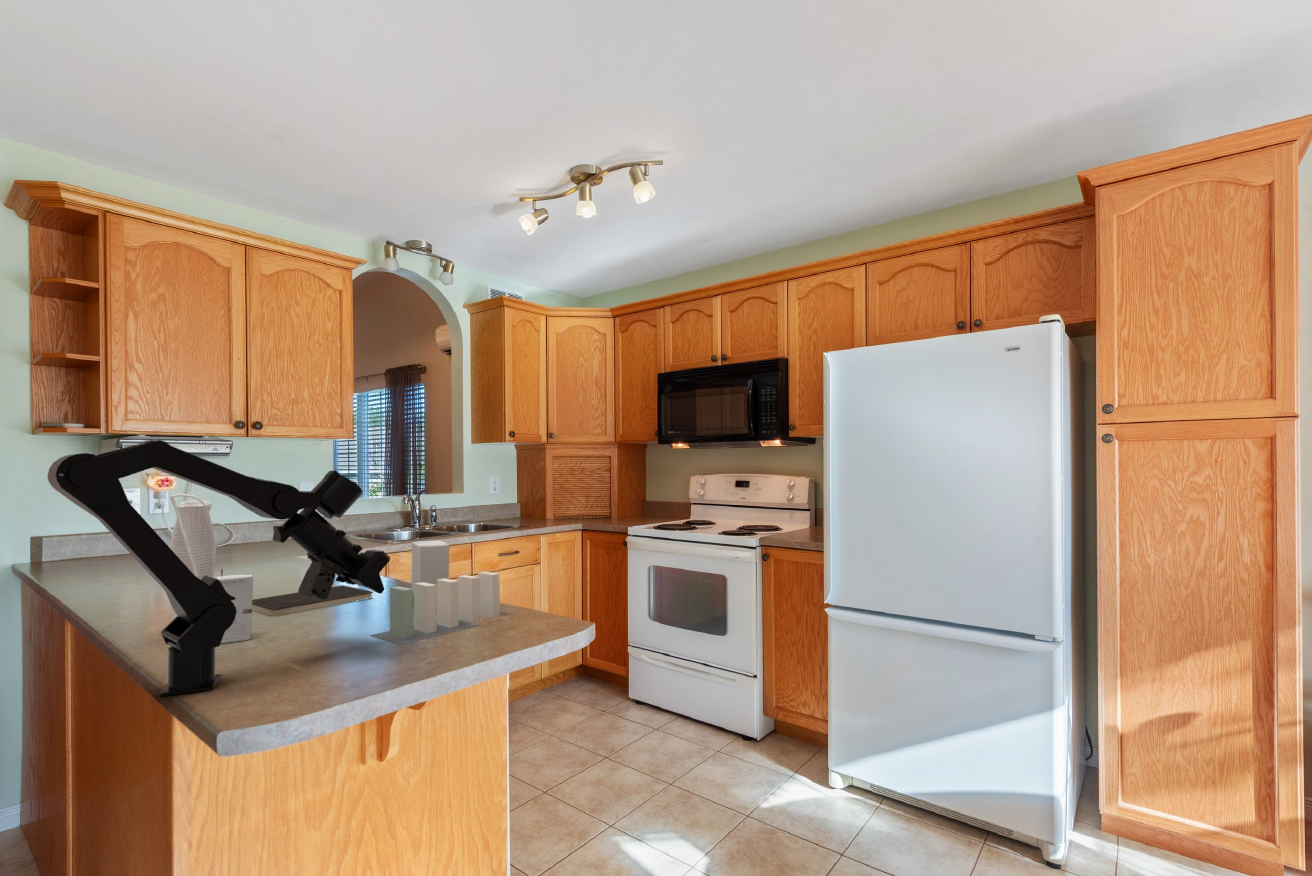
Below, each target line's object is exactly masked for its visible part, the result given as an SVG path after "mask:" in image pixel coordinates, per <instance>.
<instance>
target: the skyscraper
mask: <svg viewBox="0 0 1312 876" xmlns="http://www.w3.org/2000/svg"><path fill="white" fill-rule="evenodd" d="M176 497H187V498H192V499H195V500H185V501H181V502H180V503H179V505H178V506H177V504H176V501H175V499H174V498H176ZM169 499H170V501H171V503H172V507H173V508H174V512H175V516H176V517H175V521H174V523H173V528H172V532H171V533H172V534H171V536H170V542H169V543H170V544H169V548H170V549H171V550H172V551H173V552H174V553H175V554H176V555H177V556H178V558H179V559H180V560H181V561H182V562H183V563H184V564H185V565H186V566H187V568H188V569H189V570H190V571H191V572H192V573H193V574H194V575H195V576H196V577H197V578H199V579H200V580H201V579H202V578H203V577H204V576H208V577H212V578H215V577H214V576H215V569H216V558H217V549H216V547H217V545H216V537H215V532H214V528H213V522H212V519H211V515H210V510H211V508H212V502H210V501H208V500H207V501H206V500H203V499H202V498H200V497H199V496H197V495H193V494H188V493H175V494H172V495H170V496H169ZM220 576H224V568H220ZM176 617H177V614H176V612H175V613H174V616H173V620H174V619H175V618H176Z"/></svg>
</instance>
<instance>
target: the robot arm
mask: <svg viewBox="0 0 1312 876" xmlns="http://www.w3.org/2000/svg"><path fill="white" fill-rule="evenodd" d="M149 469H154V470H157V471H159V472H161V473H165V474H166V475H170V476H173V477H175V478H178V479H180V480H183V481H186V482H189V483H191V484H194V485H197V486H199V487H203V488H205V489H208V490H210V491H213V492H215V493H218V494H221V495H223V496H227V497H228V498H230V499H231V500H233V501H235V502H237V503H238V504H239V505H241V506H242V507H244V508H245V509H246V510H249V511H250V512H252V513H254V514H255V515H257V516H259V517H261V518H266V519H271V520H272V519H273V520H281V521H283V520H285V521H284V523H282V524H281V525H280V524H279V525H273V526H272V529H273V533H272V541H273V542H276V543H281V544H283V543H285V542H286V541H287V540H288V539H289V538H290V539H291V540H293V541H294V542H295V544H298V545H299V546H300V547H301V548H302V549H303V550H305V551H306V552H307V553H306V555H307V556H306V558H307V559H309V561H311V563H310V564H309V567H308V568H307V569H306V571H305V574H304V576H303V578H302V580H301V583H300V585H299V588H298V590H297V591H298V593H299V594H302V595H306V596H309V597H313V598H316V599H320V600H325V599H327V597H328V595H329V592H330V590H331V588H332V587H333V585H334V583H335V582H339V583H345V584H347V585H348V584H349V585H353V586H354V585H357V586H361V587H364V588H366V589H369V591H372V592H375V593H377V594H379V595H380V594H382V593H383V592H384V591H385V586H384V583H383V581H382V577H381V574H380V573H381V572H382V570H383V569H384V568H385V567H386V566H387V564H388V563H389V562H390V560H391V557H390V556H389V555H388V554H387V553H386V552H385V551H383V550H380V549H379V550H377V549H368V550H365V552H361V551H362V550H363V547H362V546H361V545H360V544H356V543H353V542H352V541H351V540H349V539H348V538H347V537H346V535H347V533H346V531H344V530H343V529H337V528H336V527H335V526H333V525H332V524H331V523H330V522H329V521H328V520H331V519H333V518H334V517H335V518H342V517H343V515H345V513H346V512H348V510H349V509H350V508H351V507H352V506H353V505H354V504H355V503H356V501H357V500H358V499H359V498H360V497H362V495H363V494H364V491H363V489H362V488H361V486H360V485H358V484H357V482H355V481H353V480H351V479H349V477H346V476H345V475H342V474H340V473H339V472H338V471H337V470H329V471H328V472H326V474H325V475H324V477H322V479H321V481H319V482H318V484H316V486H314V487H313V489H312V490H309V491H308V490H305V491H304V490H299V489H298V488H296V487H295V486H293V485H291V484H287V483H283V482H278V481H274V480H267V479H263V478H258V477H253V476H248V475H245V474H242V473H240V472H237V471H235V470H233V469H230V468H227V467H225V466H223V465H220V464H217V463H215V462H213V461H210V460H208V459H205V458H203V457H200V456H198V455H194V454H192V453H191V452H188V451H185V450H182V449H180V448H177V447H175V446H172V444H169V443H168V442H167V441H165V440H162V439H149V440H144V441H141V442H139V443H138V444H134V445H130V446H126V447H122V448H119V449H114V450H111V451H107V452H103V453H99V454H95V453H88V452H85V453H75V454H66V455H64V456H62V457H61V456H60V457H59V458H58V459H56V460H55V461H54V462H52V463H51V465H50V467H49V468H48V472H47V481H48V483H49V484H50V486H51V487H52V489H54V490H55V491H56V492H58V493H60V495H62V496H63V497H65V498H67V499H68V500H69V501H70V502H71V503H73V504H75V505H76V506H78V507H80V508H81V509H82V510H84V511H85V512H87V513H89V514H90V515H91V516H93V517H94V518H96V519H97V520H98V521H99V523H101V524H102V525H103V526H104V528H106V529H107V531H108V532H110V534H111V535H112V536H113V537H114V538H115V539H116V540H117V542H119V543H120V544H121V545H122V546H123V547H124V549H125V550H126V551H128V552H129V554H130V555H131V556H132V557H133V558H134V560H136V561H137V563H139V564H140V565H141V567H142V568H143V569H144V570H145V571H146V572H147V573H148V574H149V575H150V577H152V578H153V579H154V581H156V583H157V584H158V585H160V587H161V588H162V589H163V590H164V592H165V594H166V596H167V598H168V601H169V603H170V605H171V608H172V609H173V611H174V612H175V613H176V614H177V617H176V618H175V619H174V618H173V619H172V621H171V622H169V623H168V624H167V625H166V626H165V627H164V628H163V629H162V630H161V632H160V635H161V637H162V639H163V641H164V644H165V645H168V646H169V647H168V656H167V657H168V659H167V660H168V664H167V667H168V670H167V671H168V673H167V684H166V685H165V686H164V687H163V688H162V689H161V690H160V691H159V694H158V695H159V696H160V697H164V696H172V695H181V694H189V693H196V692H204V691H210V690H214V688H215V687H216V685H217V684H218V683H219V681H220V680H222V678H223V677H222V676H223V675H222V673H217V674H216V648H217V647H220V646H221V644H222V643H221V641H222V638H223V636H224V633H225V631H226V630H227V629H228V628H229V627H230V626H231V625H232V624H233V622H234V620H235V617H236V613H237V610H236V607H235V605H234V603H233V602H232V601H231V600H235V599H236V598H235V597H233V596H231V595H229V594H228V593H227V592H226V590H225V589H224V587H223V585H222V584H221V582H220V581H219V580H218V579H217V578H215V577H213V578H212V577H208V576H204V577H203V578H202V579H201V580H200V579H199V578H197V577H196V576H195V575H194V574H193V573H192V572H191V571H190V570H189V569H188V568H187V566H186V565H185V564H184V563H183V562H182V561H181V560H180V559H179V558H178V556H177V555H176V554H175V553H174V552H173V551H172V550H171V549H170V545H168V544H167V543H166V542H165V541H164V540H163V538H161V536H160V535H159V534H158V533H157V532H156V531H155V529H153V527H152V526H151V525H150V524H149V523H148V522H147V521H146V519H144V518H143V516H141V514H140V513H139V512H138V510H136V509H135V507H134V506H133V505H131V503H130V501H129V499H128V497H127V494H126V492H125V490H124V488H123V485H122V482H121V481H120V480H119V479H123V478H126V477H129V476H132V475H135V474H138V473H141V472H143V471H146V470H149ZM300 510H301V511H300ZM299 511H300V512H299ZM298 512H299V513H298ZM326 518H327V519H328V520H327V519H326ZM336 576H337V577H336Z"/></svg>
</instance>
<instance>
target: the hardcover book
mask: <svg viewBox="0 0 1312 876" xmlns="http://www.w3.org/2000/svg"><path fill="white" fill-rule="evenodd" d="M372 594H374V591H372V590H367V589H361V588H357V587H352V586H348V585H343V584H342V585H336V586H332V588H331V590H330V592H329V595H328V597H327V599H325V600H320V599H316V598H313V597H309V596H306V595H302V594H299V593H298V592H293V593H285V594H280V595H272V596H268V597H267V596H266V597H261V598H256V599H252V611H254V610H255V612H257V611H259V612H258V613H260V612H262V613H261V614H264V613H265V614H264V615H267V616H270V615H271V616H270V617H273V616H275V617H280V616H284V615H285V614H286V615H289V614H288V613H291V614H295V613H294V612H296V613H301V612H300V611H302V612H306V611H305V610H307V611H311V609H313V610H317V609H316V608H318V609H322V607H324V608H329V607H333V606H334V605H335V606H340V605H343V604H342V603H346V604H348V603H347V602H351V603H353V602H352V601H356V600H361V599H365V598H370V597H372V598H373V595H372ZM356 602H357V601H356ZM339 604H340V605H339ZM328 606H329V607H328ZM279 615H280V616H279Z"/></svg>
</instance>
